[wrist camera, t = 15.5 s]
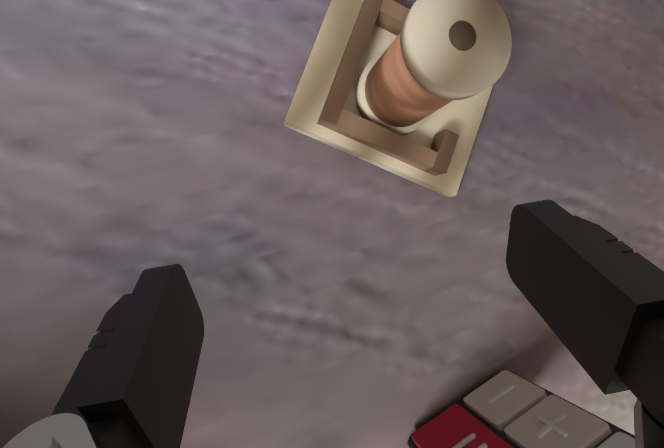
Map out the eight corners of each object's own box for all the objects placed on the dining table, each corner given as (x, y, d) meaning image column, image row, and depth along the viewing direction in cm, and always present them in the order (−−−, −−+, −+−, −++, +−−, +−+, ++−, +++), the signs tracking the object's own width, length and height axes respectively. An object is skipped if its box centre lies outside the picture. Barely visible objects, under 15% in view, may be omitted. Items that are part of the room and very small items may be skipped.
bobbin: (343, 117, 30) (394, 61, 20) (370, 44, 31) (431, -43, 21) (414, 148, 31) (493, 110, 22) (438, 78, 32) (526, 10, 22)
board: (282, 124, 30) (287, 113, 27) (336, -13, 31) (346, -37, 29) (448, 197, 33) (468, 194, 31) (491, 70, 35) (514, 55, 32)
